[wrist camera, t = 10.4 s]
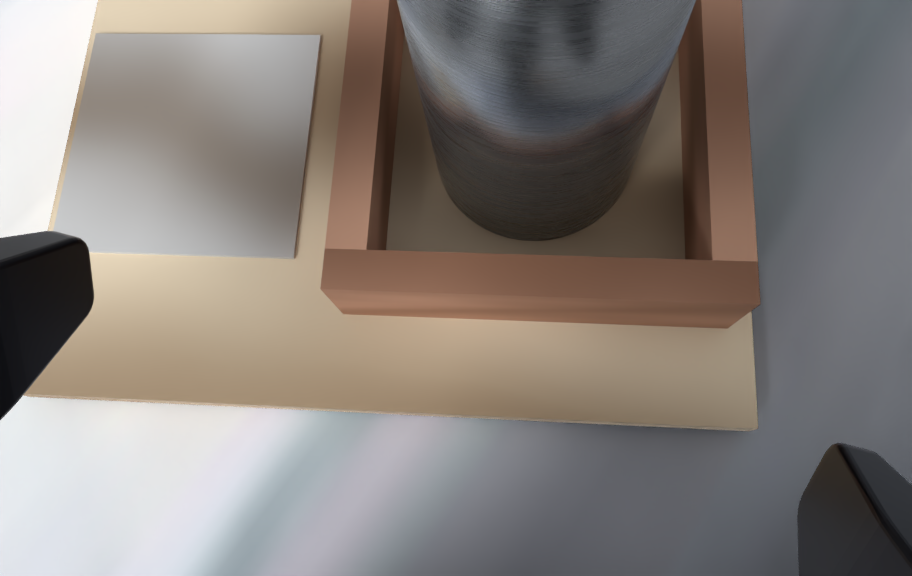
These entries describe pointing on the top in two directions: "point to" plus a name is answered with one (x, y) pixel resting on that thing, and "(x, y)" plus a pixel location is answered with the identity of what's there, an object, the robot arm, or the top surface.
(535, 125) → the dark grey cylinder
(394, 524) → the top surface
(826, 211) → the top surface
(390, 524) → the top surface
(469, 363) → the wooden board with frame
